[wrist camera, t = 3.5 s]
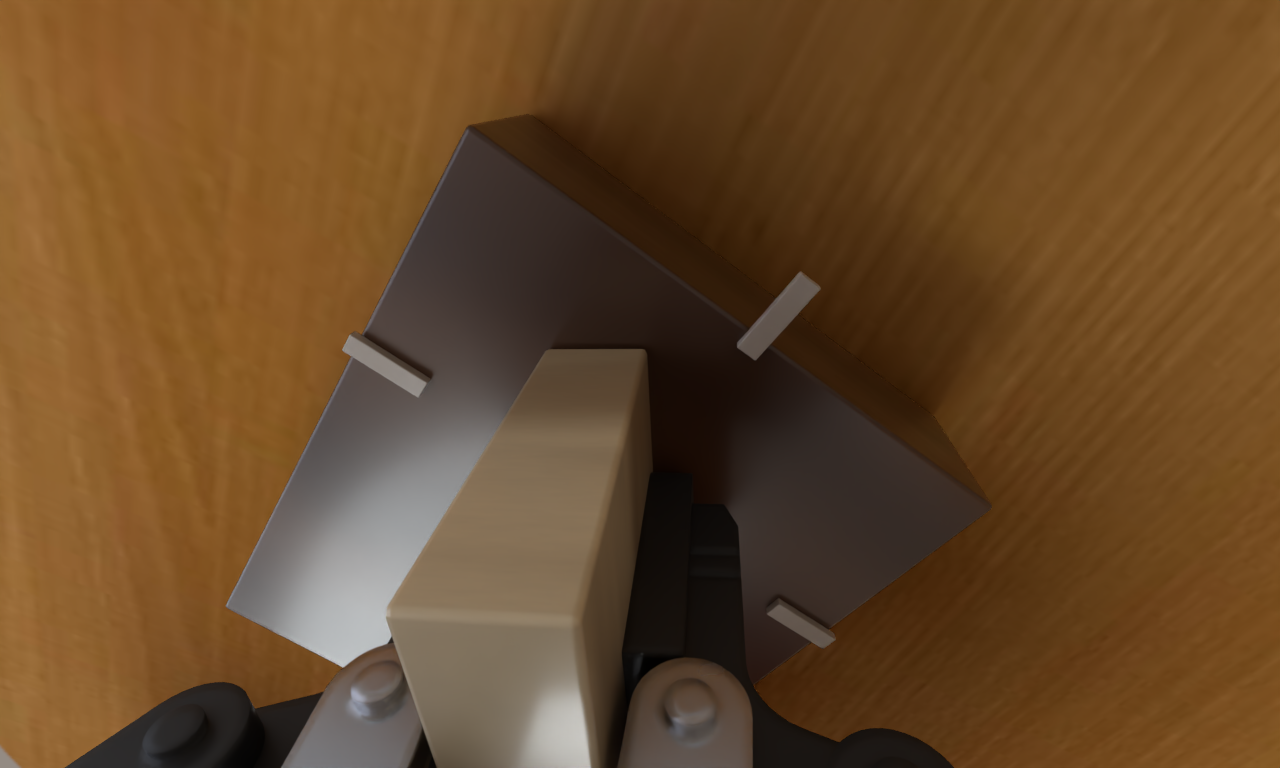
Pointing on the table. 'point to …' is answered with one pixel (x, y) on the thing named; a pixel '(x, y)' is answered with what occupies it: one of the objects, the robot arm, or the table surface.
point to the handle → (535, 576)
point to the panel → (678, 393)
